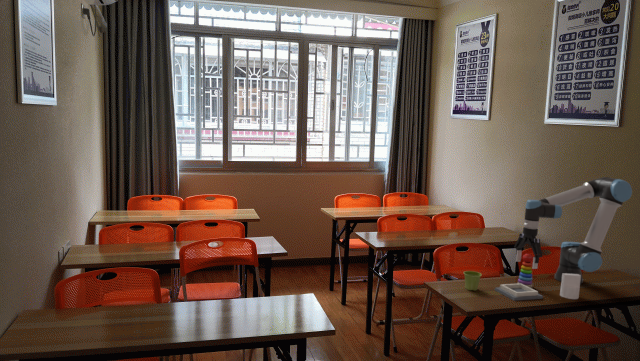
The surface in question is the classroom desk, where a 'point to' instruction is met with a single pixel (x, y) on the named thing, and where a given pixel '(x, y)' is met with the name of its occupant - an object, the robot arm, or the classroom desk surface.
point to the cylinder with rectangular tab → (570, 286)
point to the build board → (518, 292)
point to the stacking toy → (526, 271)
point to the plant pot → (472, 280)
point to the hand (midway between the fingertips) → (526, 265)
